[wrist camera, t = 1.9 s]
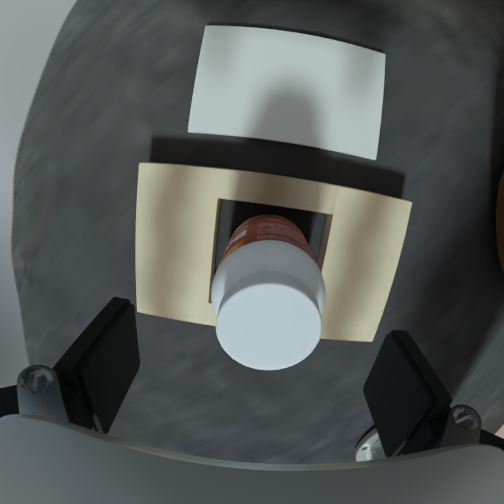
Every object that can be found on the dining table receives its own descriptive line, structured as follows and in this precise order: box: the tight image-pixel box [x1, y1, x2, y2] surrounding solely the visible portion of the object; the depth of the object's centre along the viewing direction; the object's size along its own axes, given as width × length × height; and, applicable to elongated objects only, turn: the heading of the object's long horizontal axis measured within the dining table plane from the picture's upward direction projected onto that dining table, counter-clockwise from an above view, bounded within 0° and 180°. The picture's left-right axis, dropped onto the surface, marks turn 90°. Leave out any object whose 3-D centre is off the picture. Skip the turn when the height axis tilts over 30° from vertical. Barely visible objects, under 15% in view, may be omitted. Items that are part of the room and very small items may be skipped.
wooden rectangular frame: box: [136, 162, 412, 342], centre depth 22 cm, size 20×12×2 cm, turn 83°
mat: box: [188, 26, 385, 160], centre depth 19 cm, size 14×9×1 cm, turn 83°
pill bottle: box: [211, 215, 326, 370], centre depth 18 cm, size 6×6×11 cm
